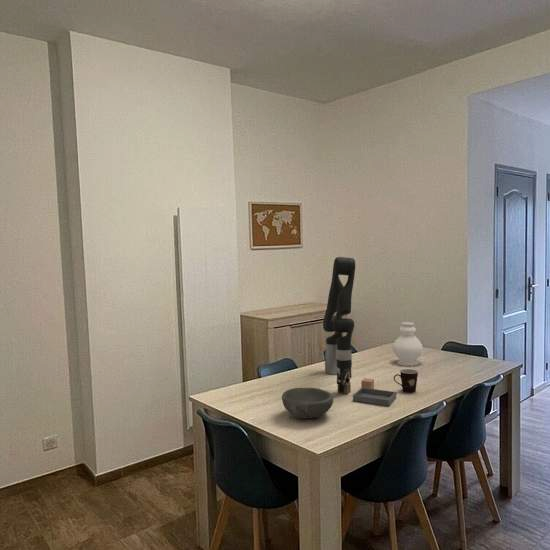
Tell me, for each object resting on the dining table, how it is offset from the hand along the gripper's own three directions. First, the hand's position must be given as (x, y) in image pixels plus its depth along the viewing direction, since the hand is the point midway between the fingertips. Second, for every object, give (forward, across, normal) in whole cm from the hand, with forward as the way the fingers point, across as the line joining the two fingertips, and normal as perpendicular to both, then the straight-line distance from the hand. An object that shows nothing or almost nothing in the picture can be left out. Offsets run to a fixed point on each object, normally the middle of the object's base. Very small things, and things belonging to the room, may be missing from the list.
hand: (344, 389), depth 243 cm
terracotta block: (+2, -10, +9) cm, 13 cm away
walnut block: (+2, 0, 0) cm, 2 cm away
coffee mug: (+2, -16, +27) cm, 31 cm away
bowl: (+2, +37, -3) cm, 37 cm away
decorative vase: (+1, -70, +15) cm, 72 cm away
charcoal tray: (+2, +4, +17) cm, 17 cm away
